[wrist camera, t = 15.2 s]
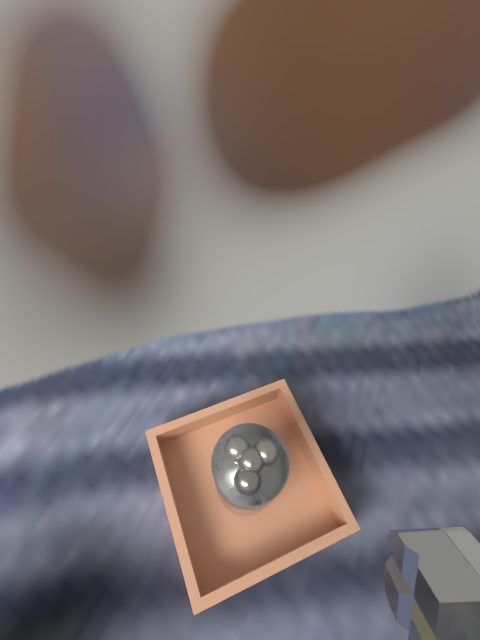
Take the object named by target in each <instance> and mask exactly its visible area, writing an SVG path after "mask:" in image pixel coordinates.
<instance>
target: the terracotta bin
mask: <svg viewBox="0 0 480 640" xmlns="http://www.w3.org/2000/svg"><path fill="white" fill-rule="evenodd" d="M244 423H256V424H260V425H263V426H265V427H267V428H269V429H271V430H272V431H274V432H275V433H276V434H277V435H278V436H279V437H280V438H281V440H282V441H283V443H284V445H285V446H286V449H287V451H288V455H289V461H290V471H289V476H288V480H287V482H286V484H285V486H284V488H283V490H282V491H281V492H280V494H279V495H278V496H277V497H276V498H274V499H273V500H272V501H270V502H269V503H268V505H267V506H266V507H265V508H264V509H263V510H261V511H260V512H258V513H256V514H254V515H250V516H240V515H236V514H234V513H232V512H230V511H229V510H228V509H226V508H225V507H224V506H223V504H222V503H221V501H220V500H219V498H218V495H217V491H216V486H215V481H214V478H213V475H212V469H211V459H212V453H213V450H214V447H215V445H216V443H217V441H218V440H219V438H220V437H221V436H222V435H223V434H224V433H225V432H226V431H227V430H229V429H230V428H232V427H234V426H236V425H239V424H244ZM145 432H146V436H147V440H148V444H149V447H150V451H151V455H152V459H153V462H154V466H155V470H156V474H157V478H158V481H159V485H160V489H161V493H162V496H163V500H164V504H165V508H166V512H167V515H168V519H169V523H170V527H171V531H172V534H173V538H174V542H175V546H176V549H177V553H178V557H179V561H180V565H181V568H182V572H183V576H184V580H185V583H186V587H187V591H188V595H189V599H190V602H191V606H192V610H193V614H194V615H196V614H198V613H199V612H201V611H203V610H205V609H207V608H209V607H211V606H213V605H215V604H217V603H219V602H221V601H223V600H225V599H227V598H229V597H231V596H233V595H234V594H236V593H238V592H240V591H242V590H244V589H246V588H248V587H250V586H252V585H254V584H256V583H258V582H260V581H262V580H264V579H266V578H267V577H269V576H271V575H273V574H275V573H277V572H279V571H281V570H283V569H285V568H287V567H289V566H291V565H293V564H295V563H297V562H299V561H301V560H302V559H304V558H306V557H308V556H310V555H312V554H314V553H316V552H318V551H320V550H322V549H324V548H326V547H328V546H330V545H332V544H334V543H335V542H337V541H339V540H341V539H343V538H345V537H347V536H349V535H351V534H353V533H355V532H357V531H359V530H361V529H360V527H359V525H358V523H357V521H356V519H355V517H354V516H353V514H352V512H351V510H350V508H349V506H348V504H347V502H346V500H345V498H344V496H343V494H342V492H341V490H340V488H339V486H338V484H337V482H336V480H335V478H334V476H333V474H332V472H331V470H330V468H329V466H328V464H327V462H326V460H325V458H324V456H323V454H322V452H321V450H320V448H319V446H318V445H317V443H316V441H315V439H314V437H313V435H312V433H311V431H310V429H309V427H308V425H307V423H306V421H305V419H304V417H303V415H302V413H301V411H300V409H299V407H298V405H297V403H296V401H295V399H294V397H293V395H292V393H291V391H290V389H289V387H288V385H287V383H286V381H285V379H282V380H279V381H276V382H274V383H271V384H268V385H266V386H263V387H260V388H258V389H255V390H253V391H250V392H247V393H245V394H242V395H239V396H237V397H234V398H231V399H229V400H226V401H223V402H221V403H218V404H216V405H213V406H210V407H208V408H205V409H202V410H200V411H197V412H194V413H192V414H189V415H186V416H184V417H181V418H178V419H176V420H173V421H171V422H168V423H165V424H163V425H160V426H157V427H155V428H152V429H149V430H147V431H145Z"/></svg>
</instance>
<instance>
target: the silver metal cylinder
mask: <svg viewBox="0 0 480 640" xmlns="http://www.w3.org/2000/svg"><path fill="white" fill-rule="evenodd" d="M211 469H212V475H213V478H214V481H215V486H216V491H217V495H218V498H219V500H220V501H221V503H222V504H223V506H224V507H225V508H226V509H228V510H229V511H230V512H232V513H234V514H236V515H240V516H250V515H254V514H256V513H258V512H260V511H261V510H263V509H264V508H265V507H266V506H267V505H268V503H269V502H270V501H272V500H273V499H274V498H276V497H277V496H278V495H279V494H280V492H281V491H282V490H283V488H284V486H285V484H286V482H287V480H288V476H289V471H290V461H289V455H288V451H287V449H286V446H285V445H284V443H283V441H282V440H281V438H280V437H279V436H278V435H277V434H276V433H275V432H274V431H272V430H271V429H269V428H267V427H265V426H263V425H260V424H256V423H244V424H239V425H236V426H234V427H232V428H230V429H229V430H227V431H226V432H225V433H224V434H223V435H222V436H221V437H220V438H219V440H218V441H217V443H216V445H215V447H214V450H213V453H212V459H211Z"/></svg>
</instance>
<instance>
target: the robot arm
mask: <svg viewBox="0 0 480 640" xmlns="http://www.w3.org/2000/svg"><path fill="white" fill-rule="evenodd" d="M387 548H388V550H389V551H390V553H391V555H392V556H391V557H390V559H389V560H388V561H387V562H386V563H385V568H384V582H385V589H386V595H387V598H388V601H389V604H390V607H391V609H392V611H393V614H394V616H395V618H396V620H397V621H398V622H399V623H400V624H401V625H403V626H404V627H405V628H406V629H407V630H408V631H409V638H408V640H480V543H479V542H478V541H477V540H476V539H475V538H474V536H473V535H472V534H471V533H470V532H469V531H468V530H466V529H465V528H463V527H445V528H437V529H436V528H429V529H405V530H391V531H390V533H389V535H388V539H387Z"/></svg>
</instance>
